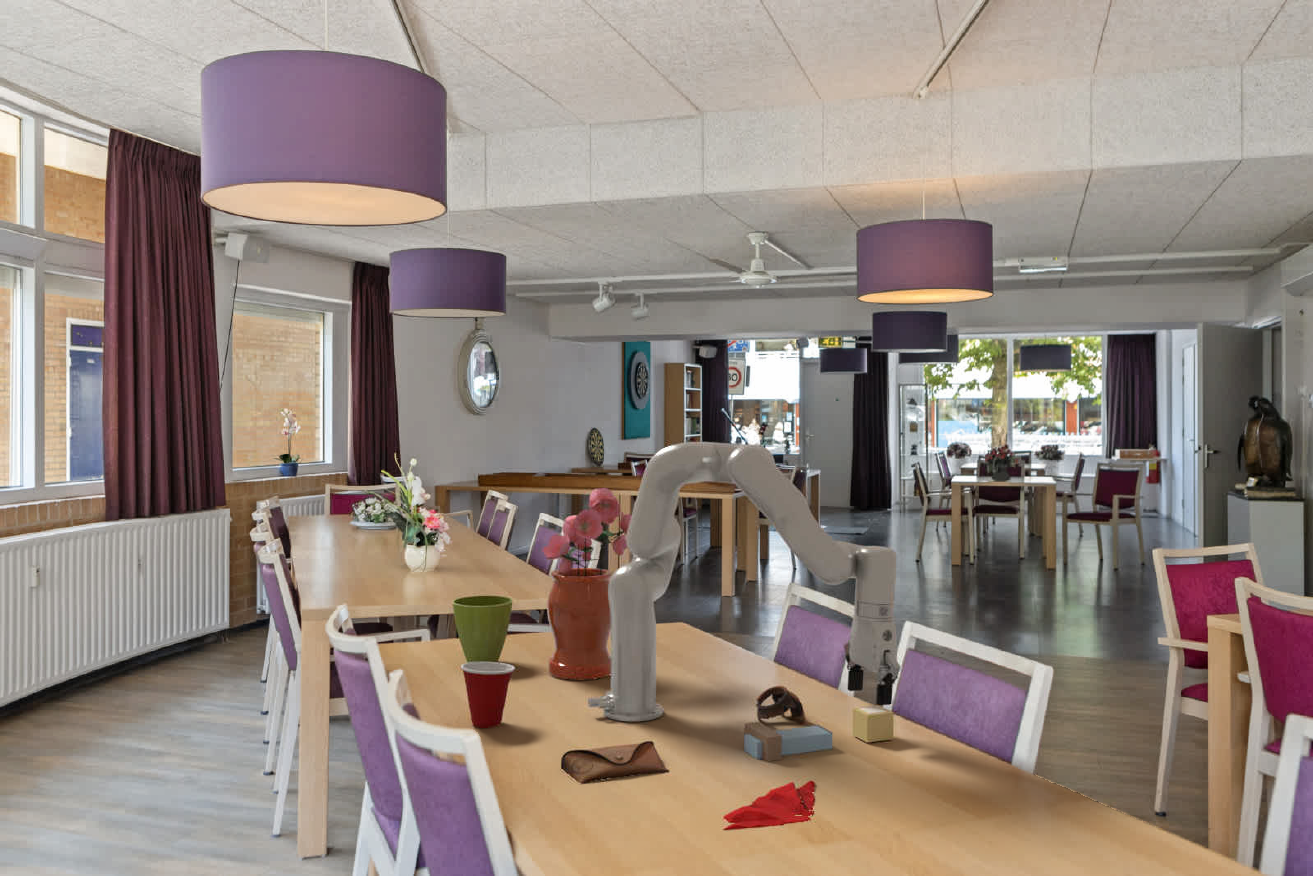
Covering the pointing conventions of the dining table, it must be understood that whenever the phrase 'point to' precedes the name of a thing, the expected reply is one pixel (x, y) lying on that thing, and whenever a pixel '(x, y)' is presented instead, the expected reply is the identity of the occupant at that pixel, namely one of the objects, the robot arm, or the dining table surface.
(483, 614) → the flower pot
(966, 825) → the dining table surface
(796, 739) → the banded blue brick
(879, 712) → the stub
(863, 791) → the dining table surface
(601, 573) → the potted flower
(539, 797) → the dining table surface
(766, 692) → the brown looped band
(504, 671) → the plastic cup
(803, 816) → the cloth
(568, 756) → the sunglasses case
